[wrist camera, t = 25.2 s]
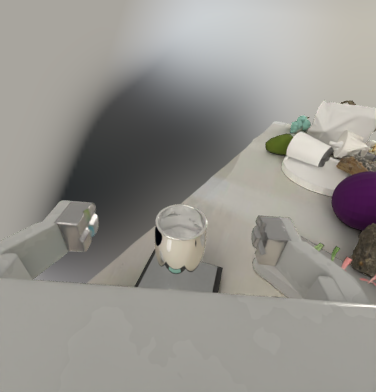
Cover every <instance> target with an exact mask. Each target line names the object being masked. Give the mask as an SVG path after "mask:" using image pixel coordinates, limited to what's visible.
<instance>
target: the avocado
mask: <svg viewBox="0 0 376 392" xmlns="http://www.w3.org/2000/svg"><path fill="white" fill-rule="evenodd" d="M292 139H293V136H292V135H291V134H283V135H279V136H276V137H274V138H271V139H270V140H268V141H267V142H266V149H267V150H268V151H269V152H271V153H275V154H279V155H286V151H287V148H288V145H289V143H290V142H291V140H292Z"/></svg>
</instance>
